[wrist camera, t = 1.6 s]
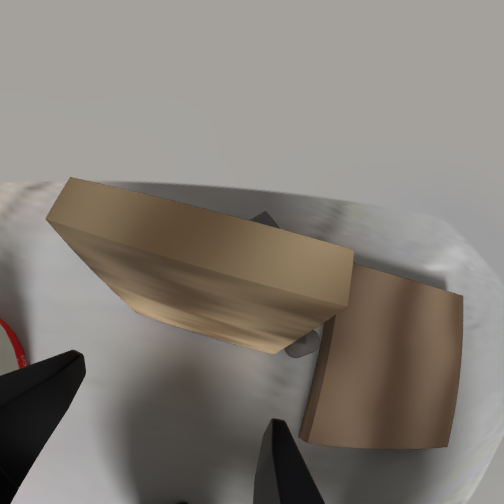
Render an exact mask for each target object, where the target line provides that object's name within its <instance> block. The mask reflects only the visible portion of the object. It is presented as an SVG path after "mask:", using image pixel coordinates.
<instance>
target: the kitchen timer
mask: <svg viewBox="0 0 504 504" xmlns="http://www.w3.org/2000/svg"><path fill="white" fill-rule="evenodd" d="M26 366H28V364H27V361H26V357H25V354H24V351H23V349H22V347H21V345H20V343H19V341H18V339H17V337H16V335H15V333H14V332H13V331H12V330H11V329H10V328H9V326H8V325H7V324H6V323H5V322H4V321H3V320H1V319H0V375H3V374H6V373H9V372H12V371H15V370H18V369H20V368H23V367H26Z"/></svg>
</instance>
